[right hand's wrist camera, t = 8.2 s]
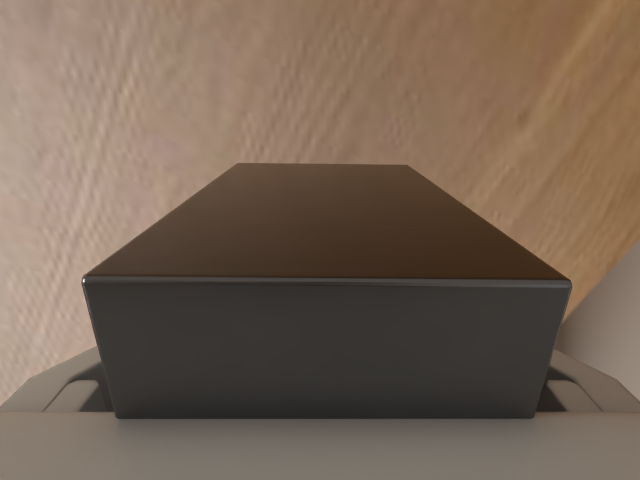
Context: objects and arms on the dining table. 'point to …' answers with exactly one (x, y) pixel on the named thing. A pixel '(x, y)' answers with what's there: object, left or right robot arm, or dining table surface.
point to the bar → (324, 303)
